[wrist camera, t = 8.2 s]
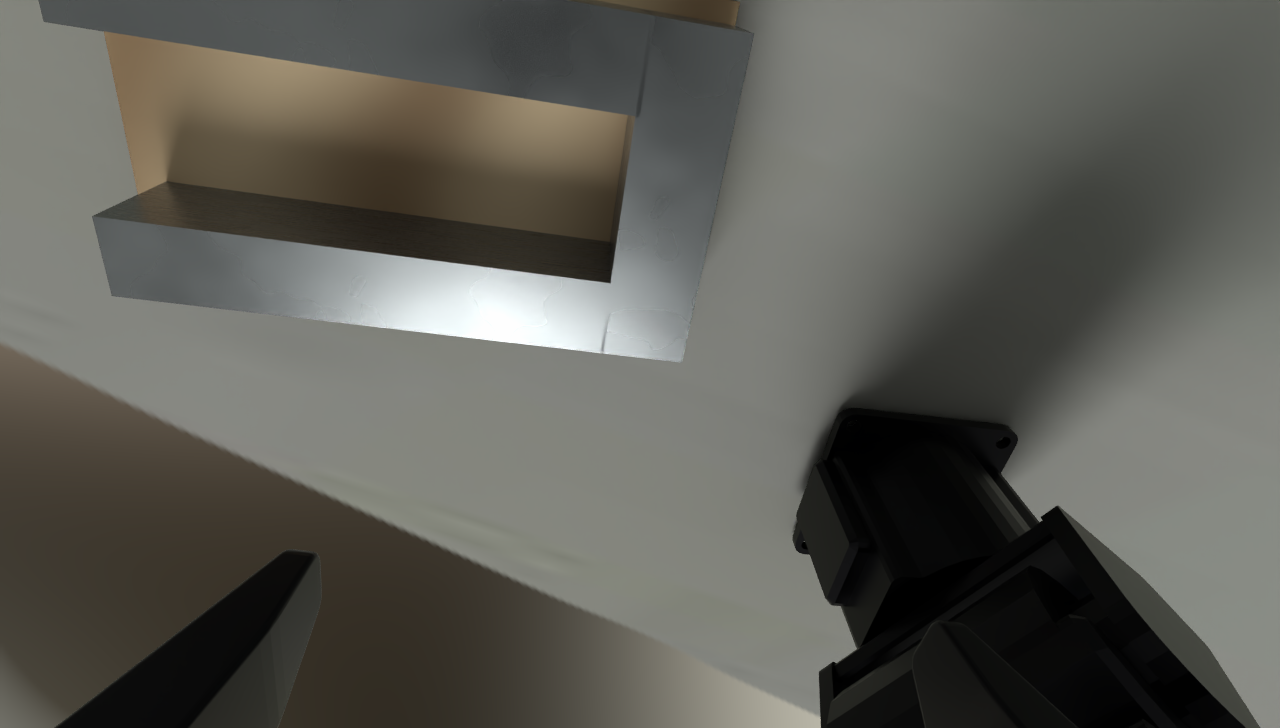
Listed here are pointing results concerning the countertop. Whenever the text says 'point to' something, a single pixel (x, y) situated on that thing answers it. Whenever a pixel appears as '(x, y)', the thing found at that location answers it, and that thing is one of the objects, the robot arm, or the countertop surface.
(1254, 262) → the countertop surface
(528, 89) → the metal u-shaped bracket
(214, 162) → the mat
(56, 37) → the countertop surface
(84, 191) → the countertop surface
